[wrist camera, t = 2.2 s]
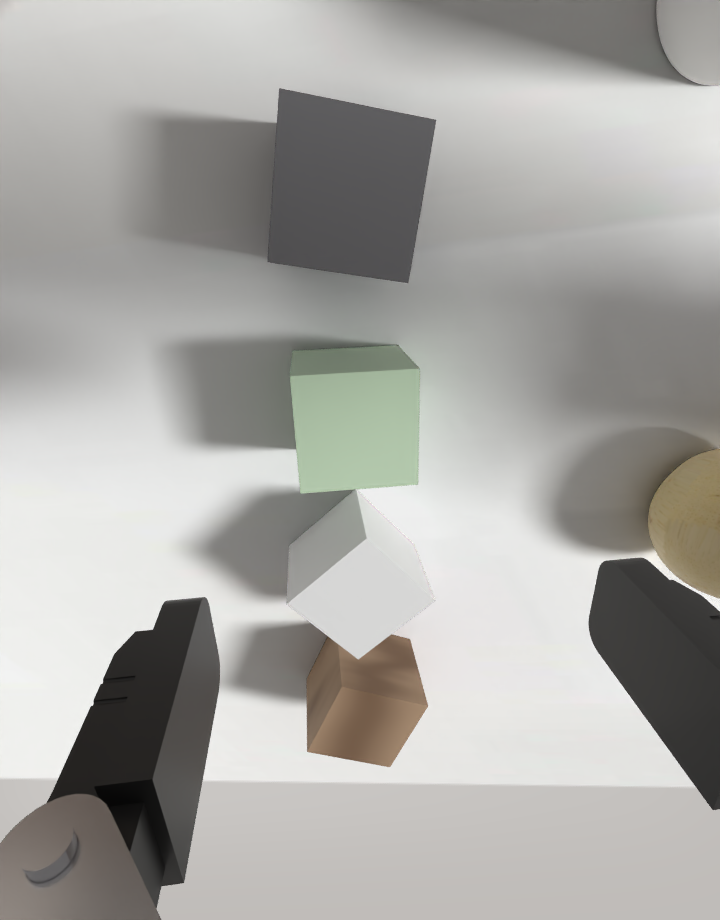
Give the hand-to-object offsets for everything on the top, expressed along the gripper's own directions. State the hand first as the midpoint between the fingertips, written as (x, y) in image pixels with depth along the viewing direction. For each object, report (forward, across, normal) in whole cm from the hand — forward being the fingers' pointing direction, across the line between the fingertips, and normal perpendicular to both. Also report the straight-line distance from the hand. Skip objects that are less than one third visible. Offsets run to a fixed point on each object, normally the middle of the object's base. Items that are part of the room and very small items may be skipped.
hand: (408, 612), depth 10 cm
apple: (+16, -20, +7) cm, 27 cm away
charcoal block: (+16, 0, -8) cm, 18 cm away
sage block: (+16, 0, 0) cm, 16 cm away
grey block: (+16, 0, +9) cm, 18 cm away
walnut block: (+16, 0, +17) cm, 23 cm away
